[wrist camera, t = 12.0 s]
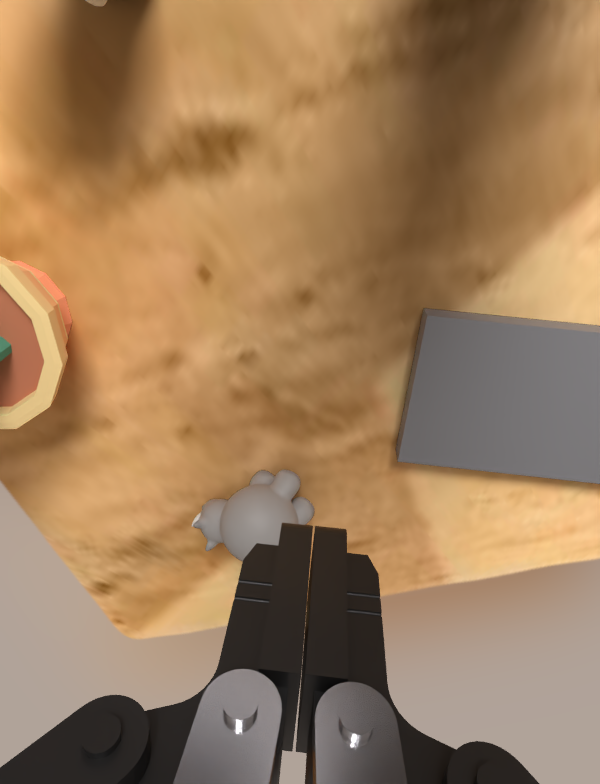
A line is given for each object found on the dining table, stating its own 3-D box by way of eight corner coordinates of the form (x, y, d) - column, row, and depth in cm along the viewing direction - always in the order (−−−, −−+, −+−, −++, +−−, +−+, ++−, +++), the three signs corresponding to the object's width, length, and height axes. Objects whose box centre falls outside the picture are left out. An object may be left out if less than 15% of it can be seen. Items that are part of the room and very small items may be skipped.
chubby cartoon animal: (207, 460, 53) (155, 514, 47) (302, 460, 47) (257, 523, 40) (232, 512, 56) (186, 570, 49) (325, 519, 49) (286, 587, 43)
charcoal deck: (423, 308, 41) (427, 315, 39) (669, 332, 40) (684, 341, 39) (395, 449, 47) (397, 461, 46) (608, 472, 47) (618, 485, 45)
